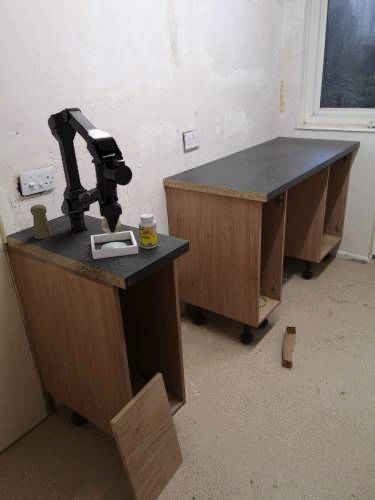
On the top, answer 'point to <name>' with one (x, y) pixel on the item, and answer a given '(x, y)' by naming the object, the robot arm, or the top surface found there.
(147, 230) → the supplement bottle
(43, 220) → the cork
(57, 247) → the top surface
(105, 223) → the wooden ball
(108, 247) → the white square frame
